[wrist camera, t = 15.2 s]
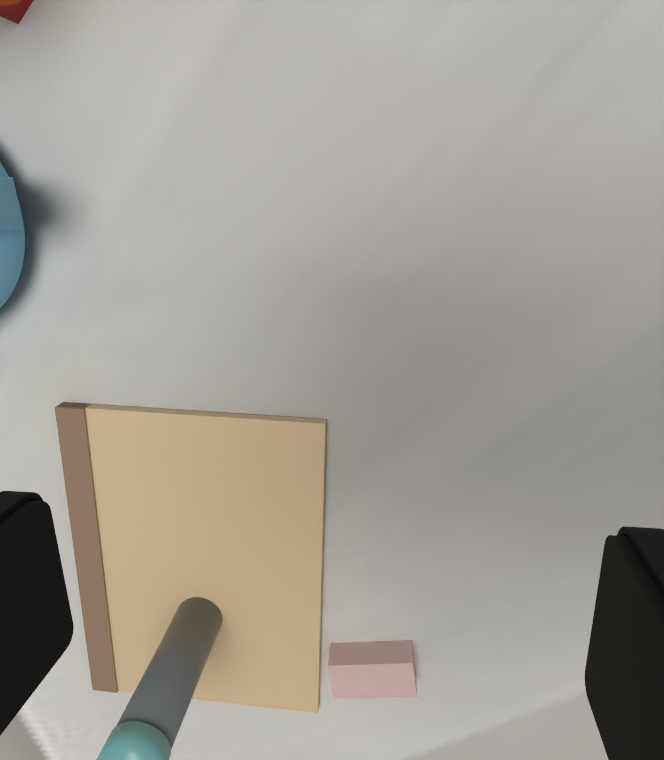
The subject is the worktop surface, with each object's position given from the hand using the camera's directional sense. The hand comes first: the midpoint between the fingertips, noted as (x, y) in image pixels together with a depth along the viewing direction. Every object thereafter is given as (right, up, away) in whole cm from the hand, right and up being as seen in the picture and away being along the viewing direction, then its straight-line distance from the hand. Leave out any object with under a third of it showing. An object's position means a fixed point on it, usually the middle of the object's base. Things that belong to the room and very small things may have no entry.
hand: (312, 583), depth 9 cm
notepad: (-9, -10, +32) cm, 35 cm away
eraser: (+3, -17, +33) cm, 38 cm away
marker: (-9, -14, +32) cm, 37 cm away
